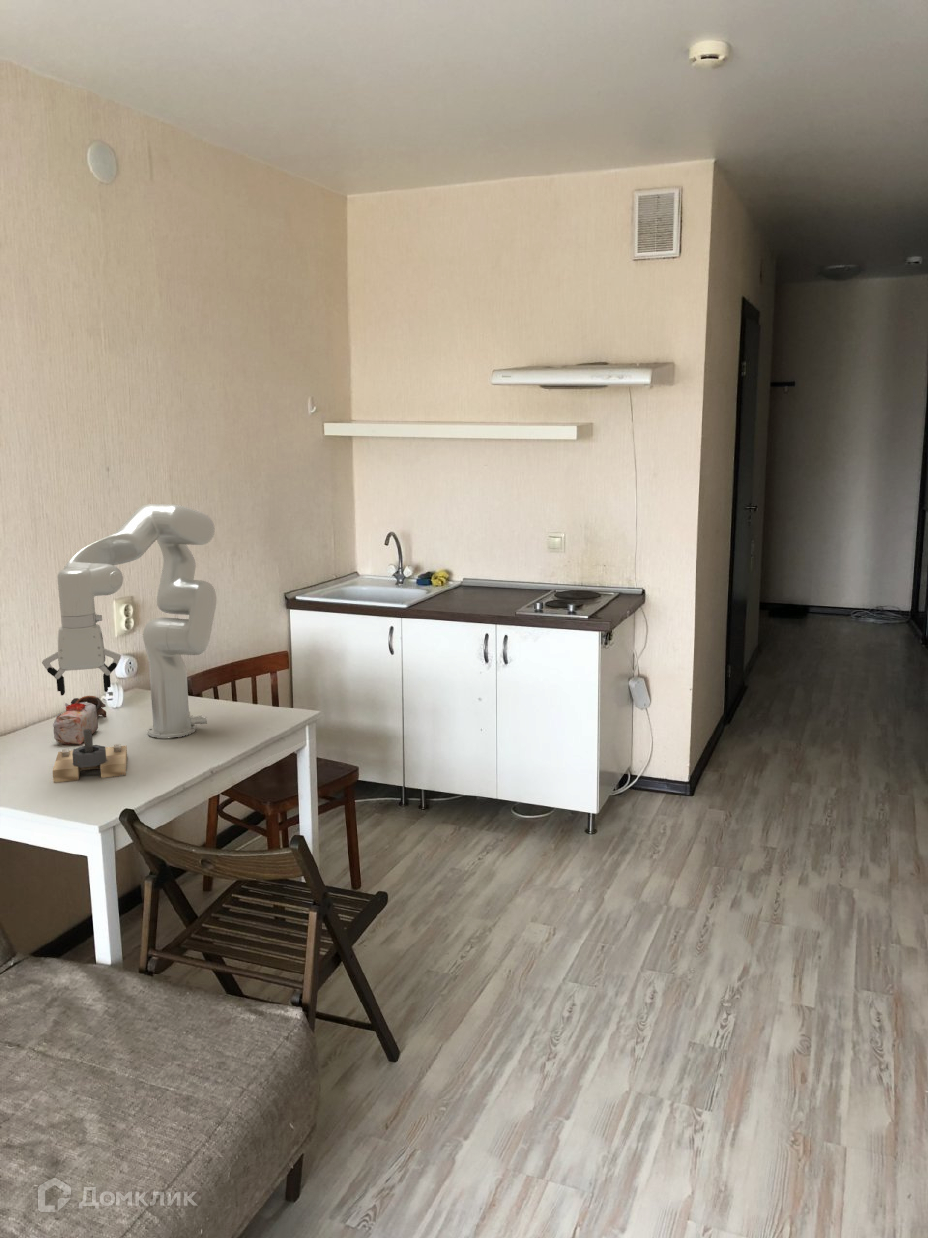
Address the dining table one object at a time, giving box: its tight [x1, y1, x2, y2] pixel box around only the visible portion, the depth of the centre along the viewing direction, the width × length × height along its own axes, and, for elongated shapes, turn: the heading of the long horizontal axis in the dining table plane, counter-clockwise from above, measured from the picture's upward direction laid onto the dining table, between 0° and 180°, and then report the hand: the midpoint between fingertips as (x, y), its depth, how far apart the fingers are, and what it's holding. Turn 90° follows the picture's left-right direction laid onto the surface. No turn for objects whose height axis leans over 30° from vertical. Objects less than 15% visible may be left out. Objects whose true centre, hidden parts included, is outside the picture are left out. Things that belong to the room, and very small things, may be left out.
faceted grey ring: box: [72, 744, 106, 767], centre depth 236 cm, size 7×7×3 cm
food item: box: [52, 702, 99, 746], centre depth 263 cm, size 14×8×10 cm, turn 1°
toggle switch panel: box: [52, 729, 128, 783], centre depth 239 cm, size 16×14×11 cm
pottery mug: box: [70, 695, 107, 718], centre depth 279 cm, size 12×10×8 cm
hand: (84, 692), depth 233 cm, fingers open, 9 cm apart
